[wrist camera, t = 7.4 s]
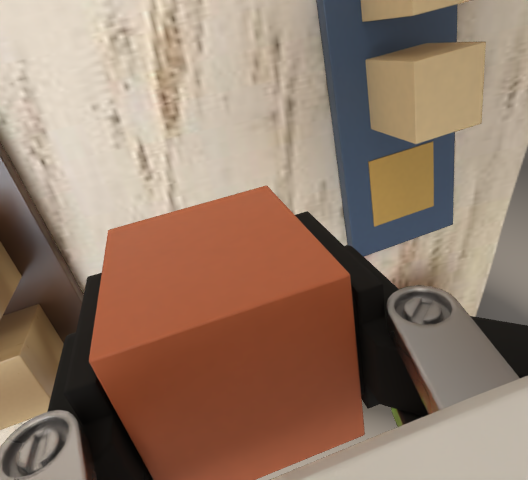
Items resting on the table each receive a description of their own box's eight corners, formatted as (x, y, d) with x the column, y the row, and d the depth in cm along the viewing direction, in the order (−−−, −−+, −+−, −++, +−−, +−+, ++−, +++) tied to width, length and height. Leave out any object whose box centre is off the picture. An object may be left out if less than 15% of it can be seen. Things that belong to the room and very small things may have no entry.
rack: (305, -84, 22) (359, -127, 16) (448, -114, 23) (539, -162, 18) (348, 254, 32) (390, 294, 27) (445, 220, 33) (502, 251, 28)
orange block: (107, 229, 10) (86, 361, 6) (266, 184, 11) (351, 273, 7) (158, 352, 12) (171, 515, 8) (290, 307, 13) (366, 435, 9)
